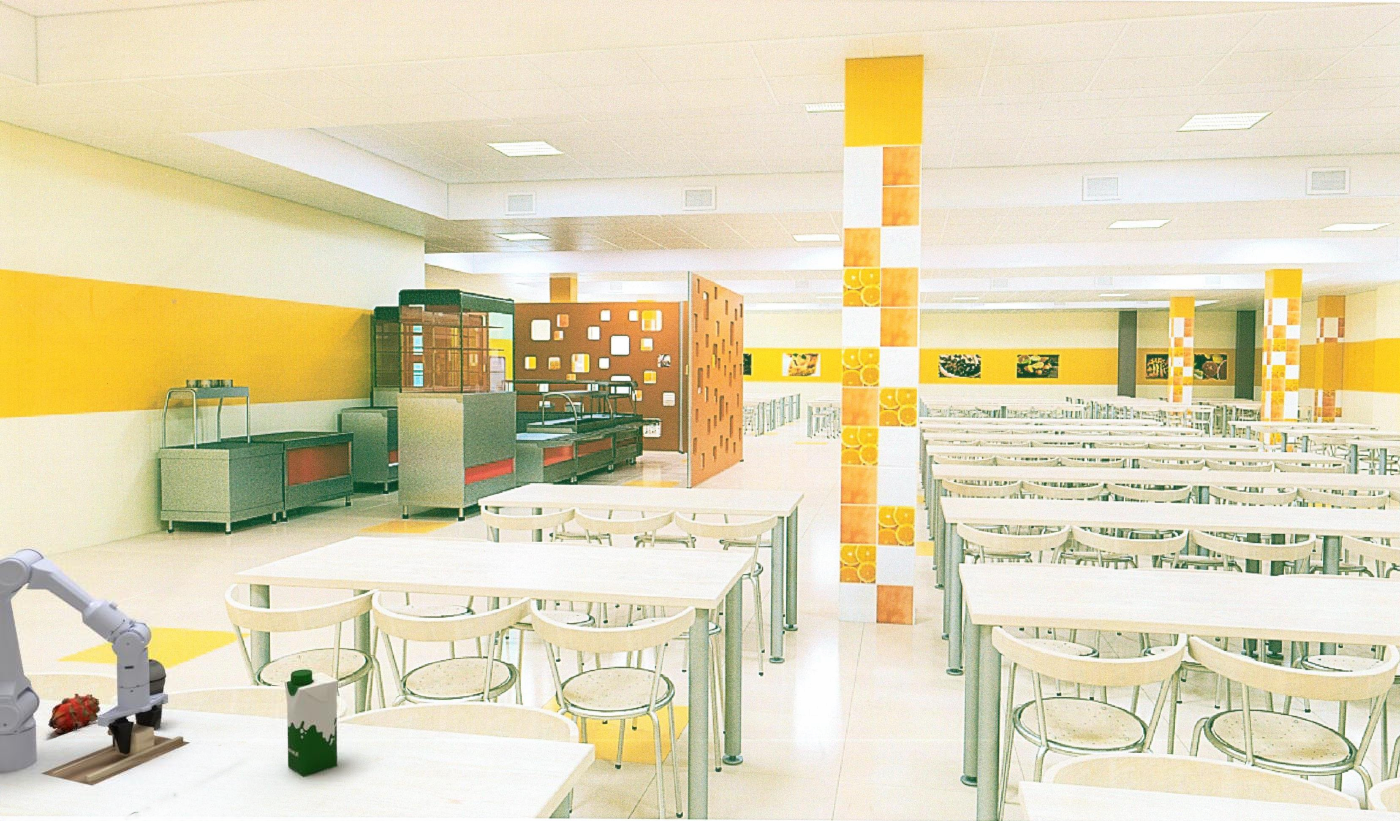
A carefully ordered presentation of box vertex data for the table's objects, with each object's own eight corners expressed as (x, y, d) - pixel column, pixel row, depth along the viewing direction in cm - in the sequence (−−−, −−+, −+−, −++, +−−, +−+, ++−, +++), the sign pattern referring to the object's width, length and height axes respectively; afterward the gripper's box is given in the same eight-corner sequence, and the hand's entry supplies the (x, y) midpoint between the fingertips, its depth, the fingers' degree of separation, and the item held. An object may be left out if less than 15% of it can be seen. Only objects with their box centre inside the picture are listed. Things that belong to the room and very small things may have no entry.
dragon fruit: (104, 726, 220) (56, 754, 209) (78, 703, 221) (28, 729, 210) (117, 701, 217) (68, 728, 206) (90, 677, 218) (40, 703, 207)
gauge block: (102, 751, 199) (102, 727, 199) (120, 743, 203) (119, 720, 202) (136, 758, 196) (136, 734, 195) (154, 751, 199) (153, 727, 199)
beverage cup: (174, 726, 216) (172, 639, 215) (140, 737, 210) (138, 647, 209) (156, 719, 220) (154, 633, 219) (123, 730, 214) (121, 641, 213)
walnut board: (41, 780, 188) (41, 767, 188) (142, 739, 209) (141, 727, 209) (92, 792, 184) (92, 778, 183) (190, 749, 204) (190, 736, 204)
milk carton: (281, 766, 196) (280, 670, 195) (324, 753, 203) (323, 660, 202) (300, 779, 190) (299, 680, 189) (344, 765, 197) (343, 669, 196)
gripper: (114, 697, 189) (116, 765, 190) (178, 675, 203) (179, 738, 204) (89, 692, 192) (91, 759, 193) (153, 670, 206) (155, 733, 206)
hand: (134, 748), depth 198 cm, fingers closed on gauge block, 4 cm apart
